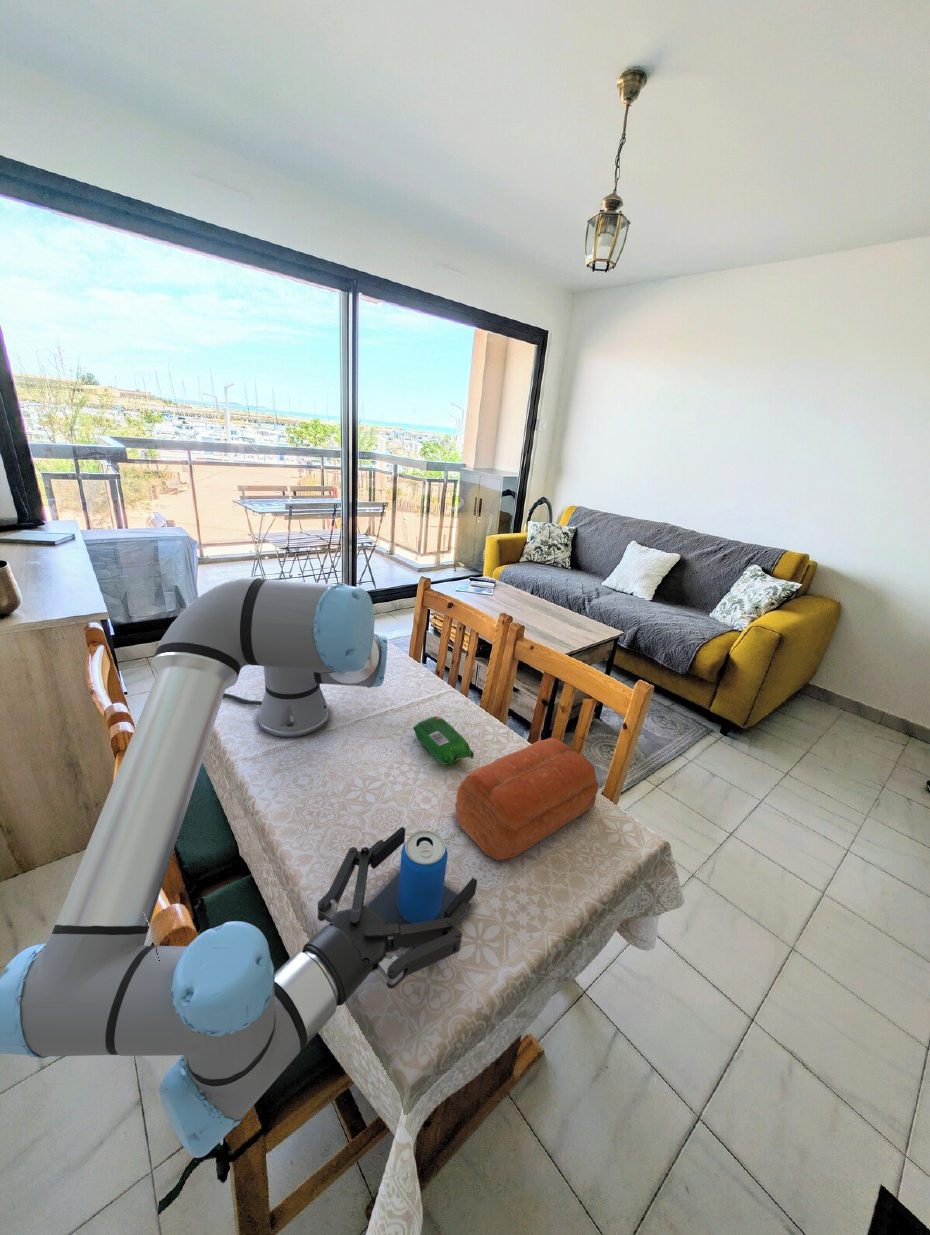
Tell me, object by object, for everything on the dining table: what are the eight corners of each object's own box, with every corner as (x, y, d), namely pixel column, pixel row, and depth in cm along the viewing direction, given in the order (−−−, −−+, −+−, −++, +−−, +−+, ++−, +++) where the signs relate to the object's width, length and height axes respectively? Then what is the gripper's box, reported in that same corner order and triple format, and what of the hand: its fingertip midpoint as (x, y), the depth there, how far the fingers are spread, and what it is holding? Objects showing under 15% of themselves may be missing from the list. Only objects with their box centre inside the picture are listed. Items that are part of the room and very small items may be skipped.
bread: (601, 808, 93) (612, 765, 89) (501, 873, 77) (510, 824, 73) (543, 763, 104) (551, 723, 100) (446, 812, 88) (451, 766, 84)
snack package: (446, 777, 97) (449, 756, 95) (409, 735, 108) (411, 716, 106) (474, 766, 101) (477, 746, 99) (435, 727, 112) (437, 708, 110)
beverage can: (438, 884, 73) (445, 826, 69) (443, 925, 67) (451, 864, 63) (396, 888, 72) (400, 828, 67) (398, 929, 66) (403, 867, 62)
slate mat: (365, 909, 69) (365, 907, 68) (409, 863, 77) (409, 861, 76) (431, 961, 63) (431, 959, 63) (470, 905, 71) (471, 903, 71)
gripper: (257, 930, 61) (376, 832, 77) (397, 1085, 48) (504, 929, 65) (254, 889, 58) (378, 797, 75) (401, 1043, 45) (512, 890, 62)
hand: (437, 858), depth 70 cm, fingers open, 13 cm apart
